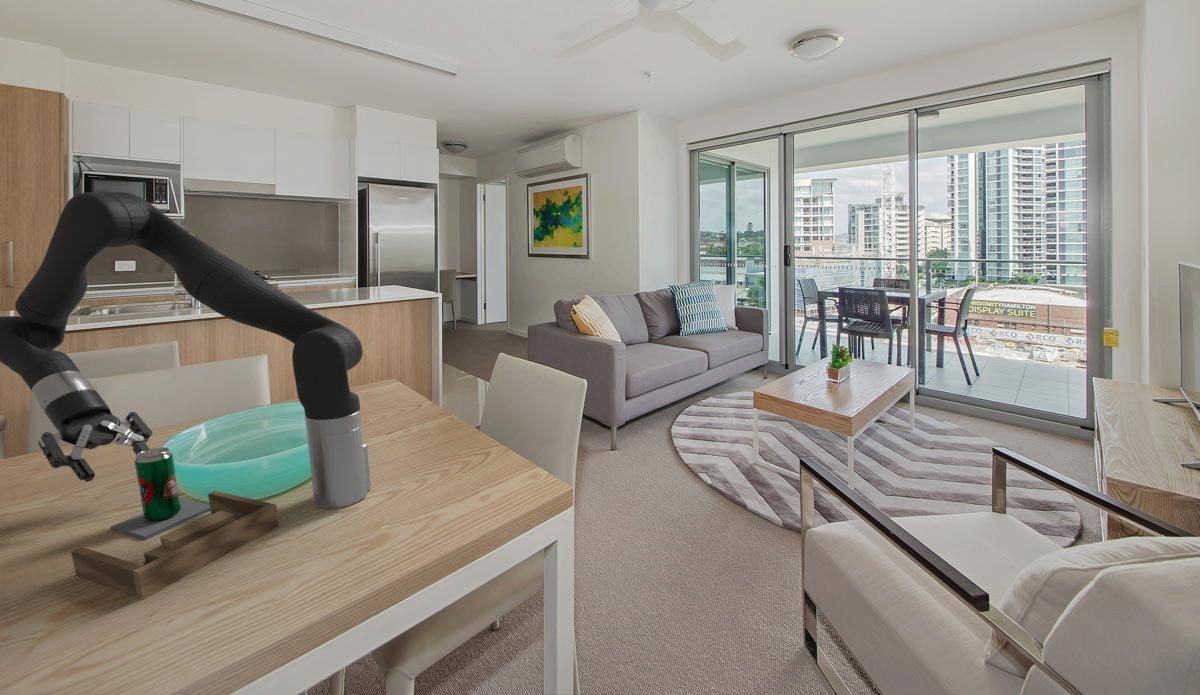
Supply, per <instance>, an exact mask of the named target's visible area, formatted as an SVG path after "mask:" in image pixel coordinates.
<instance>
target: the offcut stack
mask: <svg viewBox="0 0 1200 695" xmlns="http://www.w3.org/2000/svg"><path fill="white" fill-rule="evenodd" d="M234 521H236V520H235V516H234V514H231V513H228V512H225V511H222V510H221V511H219V512H216V513H214V514H210V515H207V516H205V517H203V518H200V519H198V520H196V521H193V522H191V523H188V524H186V525H184V526H181V527H179V528H177V529H174V530H172V531H169V532H167V533H165V534H163V535H160V536H159V538H160V543H161V545H159V546H157V547H154V548H153V549H150V550H149V551H147V552H145V553H143V556H144V561H143V562H142V566H144V565H146V564H148V563H150V562H152V561H154V560H156V559H158V558H160V557H162V556H164V555H167V554H169V553H171V552H173V551H175V550H177V549H179V548H181V547H183V546H185V545H187V544H189V543H191V542H193V541H195V540H197V539H199V538H201V537H203V536H205V535H208V534H210V533H212V532H214V531H216V530H218V529H220V528H222V527H224V526H226V525H228V524H230V523H232V522H234Z"/></svg>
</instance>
